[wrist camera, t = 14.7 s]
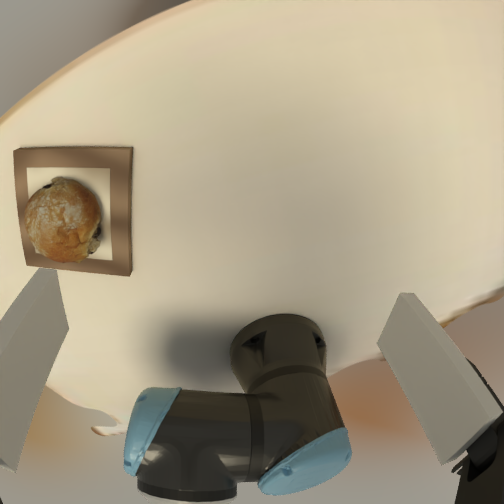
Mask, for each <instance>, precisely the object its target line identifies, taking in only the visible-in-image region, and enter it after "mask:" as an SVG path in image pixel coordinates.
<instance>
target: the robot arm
mask: <svg viewBox="0 0 504 504" xmlns="http://www.w3.org/2000/svg"><path fill="white" fill-rule="evenodd" d="M68 330H69V326H68V322H67V318H66V314H65V309H64V305H63V300H62V296H61V291H60V286H59V281H58V275H57V270H54V269H45V268H39V269H38V270H37V272H36V273H35V274H34V275H33V277H32V278H31V279H30V280H29V282H28V283H27V284H26V286H25V287H24V288H23V290H22V291H21V292H20V294H19V295H18V296H17V298H16V299H15V301H14V302H13V303H12V305H11V306H10V308H9V309H8V310H7V312H6V313H5V315H4V316H3V318H2V319H1V321H0V467H2V468H4V469H7V470H9V471H12V472H14V473H16V470H17V466H18V463H19V459H20V455H21V452H22V449H23V446H24V442H25V439H26V436H27V433H28V430H29V427H30V424H31V421H32V418H33V415H34V412H35V410H36V407H37V404H38V401H39V399H40V396H41V393H42V391H43V388H44V386H45V383H46V381H47V378H48V376H49V373H50V371H51V368H52V366H53V364H54V361H55V359H56V357H57V354H58V352H59V350H60V348H61V345H62V343H63V341H64V339H65V337H66V334H67V332H68ZM377 344H378V346H379V348H380V350H381V351H382V353H383V355H384V357H385V358H386V360H387V362H388V364H389V366H390V367H391V369H392V371H393V373H394V374H395V376H396V378H397V380H398V382H399V384H400V385H401V387H402V389H403V391H404V393H405V395H406V397H407V399H408V400H409V402H410V404H411V406H412V408H413V410H414V412H415V414H416V416H417V418H418V419H419V421H420V423H421V425H422V427H423V429H424V431H425V433H426V435H427V437H428V439H429V441H430V443H431V445H432V447H433V449H434V451H435V453H436V455H437V457H438V460H439V461H440V463H441V465H444V464H446V463H448V462H451V461H453V460H455V459H457V458H458V457H459V456H460V455H461V454H462V453H463V452H464V451H465V450H467V452H468V455H467V456H466V457H465V458H463V459H462V460H461V461H460V462H459V463H458V464H457V465H455V467H453V469H452V473H454V472H455V471H456V470H458V469H459V468H460V467H461V466H463V467H462V469H460V470H459V471H458V472H457V474H458V475H461V477H460V482H459V486H458V491H457V496H456V500H455V504H504V406H503V405H502V403H501V402H500V401H499V399H498V397H497V396H496V394H495V393H494V392H493V390H492V389H491V387H490V386H489V385H487V382H486V380H485V379H484V377H482V375H481V373H480V372H479V370H478V369H477V368H476V366H475V365H474V364H473V363H471V362H470V361H469V360H468V359H467V358H466V357H464V355H463V354H462V353H461V352H460V350H459V349H458V347H457V346H456V345H455V344H454V342H453V341H452V340H451V339H450V337H449V336H448V335H447V333H446V332H445V331H444V329H443V328H442V327H441V326H440V324H439V323H438V322H437V321H436V319H435V318H434V317H433V316H432V314H431V313H430V312H429V311H428V310H427V308H426V307H425V306H424V305H423V304H422V302H421V301H420V300H419V299H418V298H417V296H416V295H415V294H414V293H400V294H399V296H398V298H397V301H396V303H395V305H394V308H393V310H392V312H391V314H390V316H389V319H388V321H387V323H386V325H385V327H384V329H383V331H382V334H381V336H380V338H379V340H378V342H377ZM326 352H327V349H326V343H325V340H324V337H323V335H322V333H321V331H320V329H319V327H318V326H317V325H316V324H315V323H313V322H312V321H311V320H309V319H307V318H304V317H301V316H297V315H290V314H282V315H273V316H269V317H265V318H262V319H260V320H257V321H255V322H253V323H251V324H250V325H248V326H247V327H245V328H244V329H243V330H242V331H241V332H240V333H239V334H238V335H237V336H236V337H235V339H234V341H233V342H232V345H231V349H230V360H231V367H232V370H233V373H234V374H235V376H236V378H237V380H238V381H239V383H240V385H241V387H242V388H243V390H244V392H245V393H246V394H243V393H224V392H207V391H194V390H183V389H182V388H181V387H178V388H176V389H173V388H158V387H151V388H147V389H145V390H144V391H143V392H141V394H140V395H139V396H138V398H137V400H136V402H135V405H134V408H133V411H132V414H131V417H130V421H129V425H128V430H127V435H126V440H125V447H124V470H125V472H126V473H128V474H130V475H131V476H137V478H138V492H139V493H140V494H141V495H142V496H144V497H145V498H146V499H147V500H148V501H149V503H150V504H229V503H231V502H232V501H233V500H234V499H235V498H236V497H237V483H239V482H258V488H260V490H261V492H262V493H264V494H266V495H271V494H272V495H286V494H291V493H295V492H299V491H303V490H306V489H309V488H311V487H314V486H316V485H319V484H321V483H323V482H325V481H327V480H329V479H331V478H332V477H334V476H335V475H337V474H338V473H339V472H341V471H342V470H343V469H344V468H345V467H346V466H347V465H348V463H349V461H350V459H351V456H352V450H351V446H350V442H349V437H348V430H347V429H346V428H345V426H344V423H343V420H342V418H341V415H340V412H339V410H338V407H337V404H336V401H335V399H334V396H333V394H332V391H331V388H330V386H329V383H328V381H327V378H326ZM0 504H3V503H2V500H1V498H0Z"/></svg>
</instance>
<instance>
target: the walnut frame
mask: <svg viewBox="0 0 504 504" xmlns="http://www.w3.org/2000/svg"><path fill="white" fill-rule="evenodd" d="M132 155H133V148H132V147H35V148H19V149H16V150H14V151H13V156H14V176H15V190H16V200H17V209H18V217H19V225H20V232H21V238H22V244H23V250H24V255H25V260H26V265H27V266H35V267H44V268H52V269H61V270H70V271H79V272H89V273H99V274H109V275H119V276H130V275H131V272H132V253H131V179H132ZM55 177H62V178H65V179H74V180H76V181H78V182H79V183H81V184H82V185H83V186H85V187H86V188H88V189H89V190H90V191H91V192H92V193H93V194H94V195H95V197H96V199H97V201H98V204H99V207H100V209H101V210H100V212H101V218H102V219H101V222H100V229H101V234H100V235H99V236H98V237H97V239H98V240H99V241H101V242H100V246H99V247H98V248H97V251H95V252H94V253H93V254H89V257H87V258H85V259H84V260H83V261H81V263H76V262H66V263H61V262H56V261H53V260H51V259H49V258H47V257H45V256H44V255H42V254H40V253H39V252H38V251H37V250H36V248H35V247H34V246H33V244H32V242H31V241H30V239H29V236H28V233H27V231H26V228H25V221H24V214H25V208H26V205H27V202H28V200H29V199H30V197H31V196H32V195H33V194H34V193H35V192H36V191H37V190H39V189H42V188H43V186H45V185H48V184H50V183H52V181H51V180H52V179H53V178H55ZM97 239H96V240H97Z"/></svg>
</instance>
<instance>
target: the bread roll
mask: <svg viewBox="0 0 504 504" xmlns="http://www.w3.org/2000/svg"><path fill="white" fill-rule="evenodd" d="M51 181H52V183H50V184H48V185H45V186H43V188H42V189H39V190H37V191H36V192H35V193H34V194H33V195H32V196H31V197H30V199H29V200H28V202H27V205H26V208H25V214H24V221H25V228H26V231H27V233H28V236H29V239H30V241H31V242H32V244H33V246H34V247H35V248H36V250H37V251H38V252H39V253H40V254H42V255H44V256H45V257H47V258H49V259H51V260H53V261H56V262H61V263H66V262H76V263H81V261H83V260H84V259H85V258H87V257H89V254H93V253H94V252H95V251H97V248H98V247H99V246H100V242H101V241H99V240H98V239H97V237H98V236H99V235H100V234H101V229H100V222H101V219H102V218H101V212H100V210H101V209H100V207H99V204H98V201H97V199H96V197H95V195H94V194H93V193H92V192H91V191H90V190H89V189H88V188H86V187H85V186H83V185H82V184H81V183H79V182H78V181H76V180H74V179H65V178H62V177H55V178H53V179H52V180H51ZM96 239H97V240H96Z"/></svg>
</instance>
